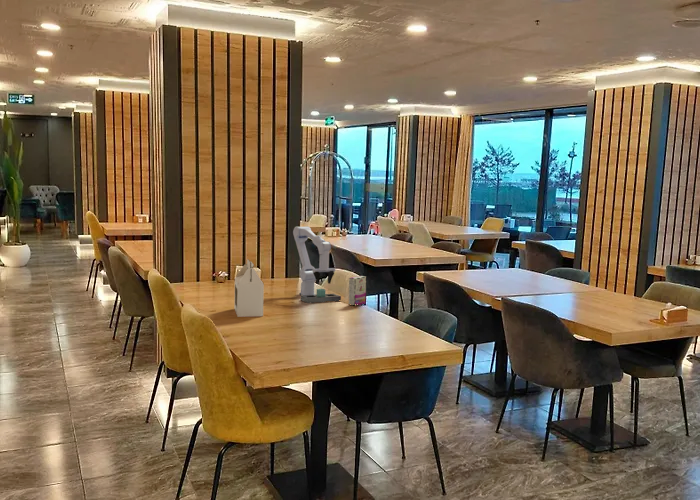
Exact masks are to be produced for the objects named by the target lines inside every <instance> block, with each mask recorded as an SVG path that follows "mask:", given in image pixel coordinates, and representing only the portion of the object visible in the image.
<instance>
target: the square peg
mask: <svg viewBox="0 0 700 500" xmlns="http://www.w3.org/2000/svg"><path fill="white" fill-rule="evenodd" d="M316 294H317V296H318V297H323V296H325V294H326V289H325V288H317V289H316Z"/></svg>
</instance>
